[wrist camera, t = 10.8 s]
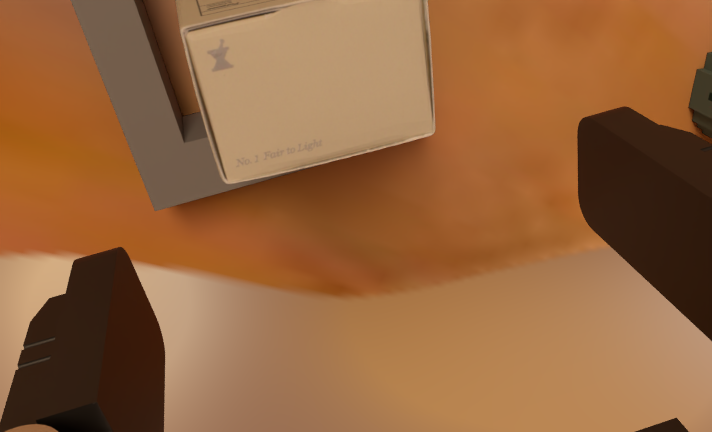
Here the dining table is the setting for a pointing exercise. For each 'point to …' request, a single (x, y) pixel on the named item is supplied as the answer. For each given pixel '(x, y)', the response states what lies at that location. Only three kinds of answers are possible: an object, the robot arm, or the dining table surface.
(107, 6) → the socket block
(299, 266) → the dining table surface
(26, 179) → the dining table surface
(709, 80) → the can
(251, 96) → the skincare box
